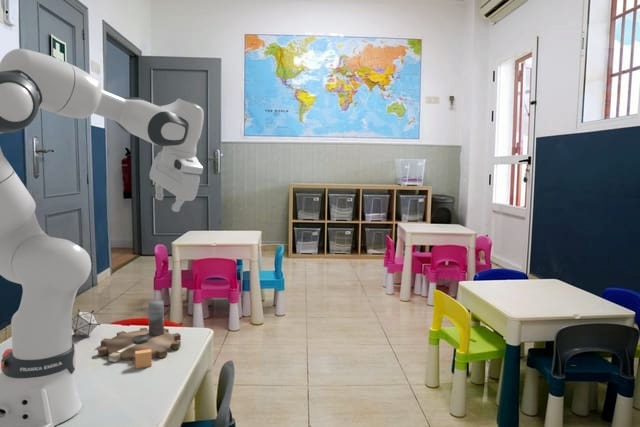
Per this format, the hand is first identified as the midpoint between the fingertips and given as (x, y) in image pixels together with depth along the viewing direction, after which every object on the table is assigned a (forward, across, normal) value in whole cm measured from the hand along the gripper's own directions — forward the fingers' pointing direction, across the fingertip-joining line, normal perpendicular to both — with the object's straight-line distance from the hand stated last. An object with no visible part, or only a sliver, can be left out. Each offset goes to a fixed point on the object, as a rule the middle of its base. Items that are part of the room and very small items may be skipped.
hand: (166, 205), depth 132 cm
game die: (+50, -15, -8) cm, 53 cm away
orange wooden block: (+41, +17, -6) cm, 44 cm away
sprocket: (+43, +5, 0) cm, 44 cm away
